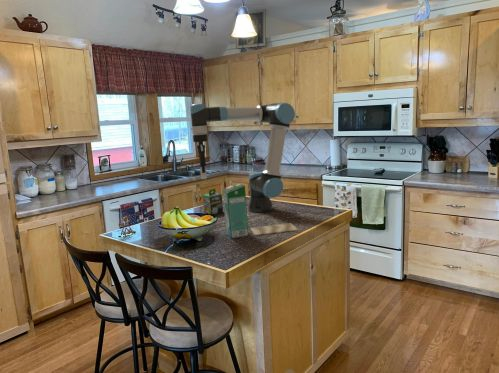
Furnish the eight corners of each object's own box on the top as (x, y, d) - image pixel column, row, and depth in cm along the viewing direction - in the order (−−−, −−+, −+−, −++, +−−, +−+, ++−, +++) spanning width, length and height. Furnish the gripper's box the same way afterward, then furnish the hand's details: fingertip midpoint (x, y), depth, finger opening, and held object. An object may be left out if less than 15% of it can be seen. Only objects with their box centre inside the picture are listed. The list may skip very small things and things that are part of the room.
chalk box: (215, 209, 248) (213, 187, 245) (223, 212, 241) (221, 188, 238) (203, 212, 243) (201, 189, 240) (211, 215, 236) (209, 191, 233)
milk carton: (225, 233, 198) (222, 185, 193) (242, 230, 201) (239, 183, 196) (231, 238, 190) (227, 188, 185) (248, 235, 192) (245, 185, 188)
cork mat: (254, 235, 191) (254, 234, 191) (250, 228, 203) (250, 227, 203) (297, 230, 195) (297, 229, 195) (291, 224, 206) (291, 223, 206)
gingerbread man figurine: (122, 237, 203) (119, 215, 201) (117, 236, 205) (114, 214, 203) (136, 232, 210) (133, 211, 208) (131, 231, 212) (129, 210, 210)
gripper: (192, 133, 212) (196, 176, 216) (193, 135, 195) (197, 181, 199) (205, 132, 213) (209, 175, 217) (208, 134, 196) (212, 180, 200)
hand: (203, 177), depth 208 cm, fingers open, 4 cm apart
